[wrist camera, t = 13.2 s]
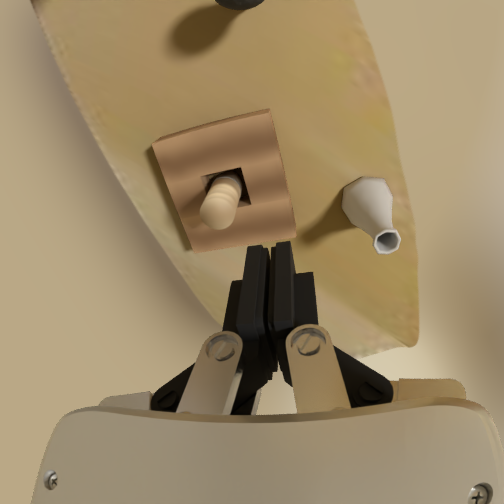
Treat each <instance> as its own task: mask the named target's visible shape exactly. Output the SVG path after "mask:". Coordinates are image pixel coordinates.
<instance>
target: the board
mask: <svg viewBox="0 0 504 504" xmlns="http://www.w3.org/2000/svg"><path fill="white" fill-rule="evenodd" d="M152 147H153V150H154V153H155V155H156V158H157V161H158V163H159V166H160V169H161V171H162V174H163V176H164V179H165V182H166V184H167V187H168V189H169V192H170V194H171V197H172V200H173V202H174V205H175V207H176V210H177V212H178V215H179V217H180V220H181V222H182V224H183V227H184V229H185V232H186V234H187V237H188V239H189V241H190V244H191V246H192V249H193V251H194V253H199V252H206V251H212V250H218V249H224V248H230V247H237V246H243V245H249V244H255V243H262V242H268V241H274V240H281V239H287V238H293V237H297V235H296V223H295V218H294V213H293V208H292V204H291V199H290V194H289V190H288V185H287V180H286V176H285V171H284V167H283V163H282V158H281V154H280V150H279V145H278V141H277V137H276V133H275V128H274V124H273V120H272V116H271V112H270V109H265V110H260V111H256V112H251V113H247V114H242V115H238V116H234V117H230V118H226V119H222V120H218V121H214V122H211V123H207V124H203V125H200V126H196V127H193V128H189V129H186V130H182V131H179V132H176V133H173V134H170V135H166V136H163V137H160V138H159V139H158V140H156V141H155V142H154V143H152ZM239 167H241V169H242V173H243V176H244V180H245V183H246V187H247V190H248V194H249V196H244V197H240V199H239V202H238V206H237V209H236V213H235V217H234V220H233V222H232V224H231V225H230V226H229V227H227V228H225V229H221V230H217V229H212V228H210V227H208V226H206V225H205V224H204V223H203V222H202V220H201V218H200V208H201V206H202V204H203V202H204V200H205V198H206V196H207V194H208V192H209V190H210V188H211V182H210V179H209V176H208V174H212V173H216V172H221V171H225V170H230V169H234V168H239Z"/></svg>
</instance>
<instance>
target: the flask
mask: <svg viewBox="0 0 504 504" xmlns="http://www.w3.org/2000/svg"><path fill="white" fill-rule="evenodd" d="M392 200H393V195H392V193H391V192H390V190H389V188H388V186H387V184H386V182H385V180H384V178H373V177H361V178H359V179H358V180H356V181H354V182H353V183H351V184H349V185H348V186H346V187H344V191H343V199H342V206H341V208H342V209H343V211H344V212H345V214H346V215H347V217H348V219H349V220H350V222H351V223H352V224H353V225H355V226H357V227H359V228H360V229H362V230H363V231H365V232H366V233H368V234H369V235H370V236H371V237H372V238H373V246H374V248H375V250H376V252H377V253H378V254H390V253H392V252H394V251H396V250H397V249H398V248H399V245H400V241H401V238H400V236H399V234H398V232H397V230H396V229H393V225H392Z"/></svg>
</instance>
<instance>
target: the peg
mask: <svg viewBox="0 0 504 504" xmlns="http://www.w3.org/2000/svg"><path fill="white" fill-rule="evenodd" d="M242 188H243V184H242V181H241V179H240V176H239V175H238V174H237V173H236V172H234V171H225V172H223V173H221V174H219V175H218V176H217V177H216V178H215V180H214V182H213V183H212V185H211V188H210V190H209V192H208V194H207V196H206V198H205V200H204V202H203V204H202V206H201V208H200V218H201V220H202V222H203V223H204V224H205V225H206V226H208V227H210V228H212V229H217V230H221V229H225V228H227V227H229V226H230V225H231V224H232V222H233V220H234V217H235V213H236V209H237V206H238V202H239V199H240V197H241V192H242Z"/></svg>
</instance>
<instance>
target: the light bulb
mask: <svg viewBox="0 0 504 504" xmlns="http://www.w3.org/2000/svg"><path fill="white" fill-rule="evenodd" d="M215 1H216V2H217V3H219V4H220V5H222V6H224V7H226V8H229V9H234V10H245V9H250V8H253V7H256V6H257V5H259V4H261V3H262V2H263V1H264V0H215Z"/></svg>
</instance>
